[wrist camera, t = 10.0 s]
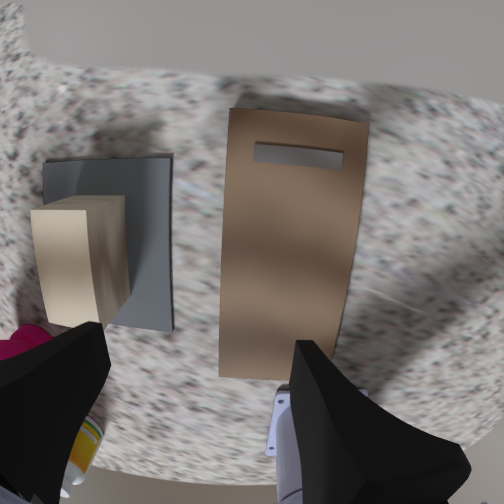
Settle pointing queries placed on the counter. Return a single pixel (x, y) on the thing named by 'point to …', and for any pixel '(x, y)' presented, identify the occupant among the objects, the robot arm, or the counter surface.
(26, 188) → the counter surface
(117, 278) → the cap
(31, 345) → the pepper mill
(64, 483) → the supplement bottle
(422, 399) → the counter surface
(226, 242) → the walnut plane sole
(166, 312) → the slate mat
